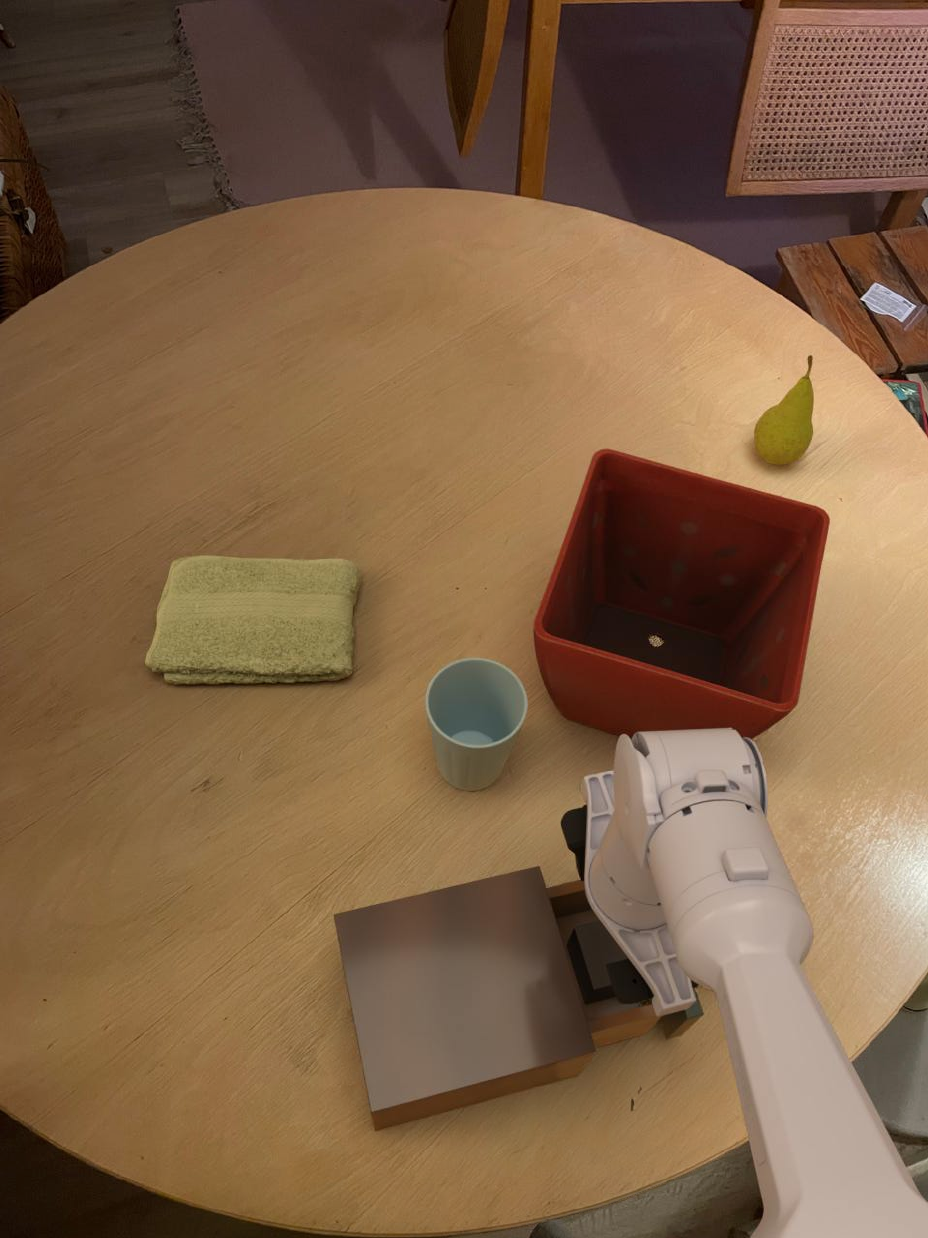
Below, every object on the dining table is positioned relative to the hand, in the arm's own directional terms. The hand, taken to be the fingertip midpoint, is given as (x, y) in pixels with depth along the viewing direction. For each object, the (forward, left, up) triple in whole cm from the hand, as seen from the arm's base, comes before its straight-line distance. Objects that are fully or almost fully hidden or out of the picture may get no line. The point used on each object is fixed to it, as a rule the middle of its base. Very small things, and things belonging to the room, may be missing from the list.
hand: (611, 927), depth 69 cm
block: (-1, 0, -8) cm, 8 cm away
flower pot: (+22, -12, -10) cm, 27 cm away
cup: (+18, +5, -10) cm, 21 cm away
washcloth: (+35, +20, -10) cm, 42 cm away
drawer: (-1, 0, -9) cm, 9 cm away
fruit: (+44, -34, -10) cm, 57 cm away
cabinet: (-1, +11, -10) cm, 14 cm away
